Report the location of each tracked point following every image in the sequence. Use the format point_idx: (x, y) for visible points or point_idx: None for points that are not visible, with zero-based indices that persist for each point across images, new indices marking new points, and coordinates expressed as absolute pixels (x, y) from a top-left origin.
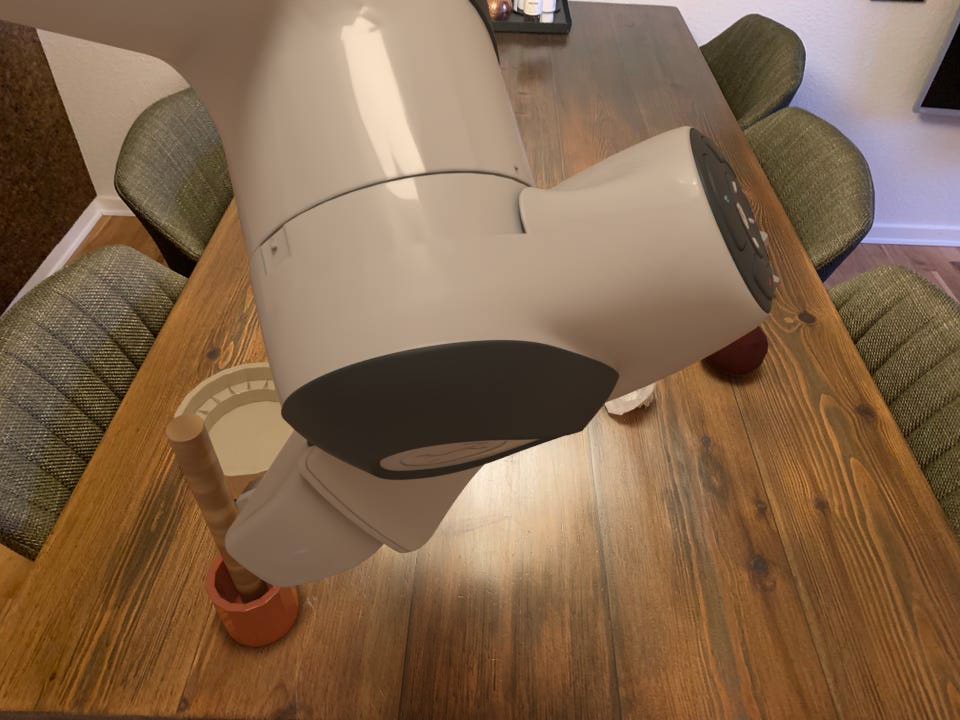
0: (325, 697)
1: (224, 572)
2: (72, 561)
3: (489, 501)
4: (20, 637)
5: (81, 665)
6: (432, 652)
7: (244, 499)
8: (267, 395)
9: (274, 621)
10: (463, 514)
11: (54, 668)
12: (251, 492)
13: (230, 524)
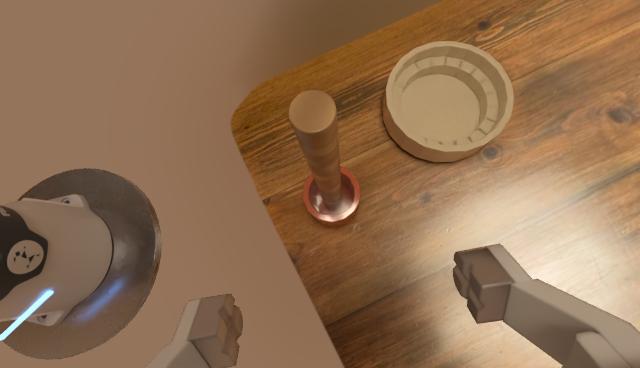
0: (308, 276)
1: None
2: (301, 81)
3: None
4: (254, 95)
5: (257, 135)
6: (369, 327)
7: (176, 329)
8: (476, 87)
9: (323, 223)
10: None
11: (250, 124)
12: (172, 350)
13: (322, 183)
